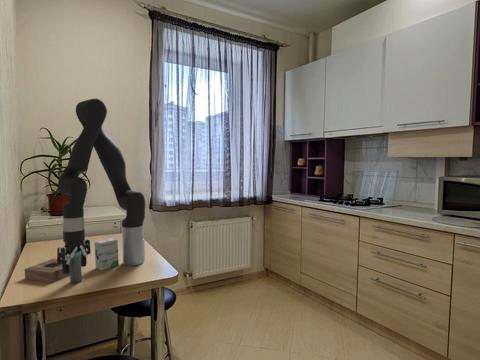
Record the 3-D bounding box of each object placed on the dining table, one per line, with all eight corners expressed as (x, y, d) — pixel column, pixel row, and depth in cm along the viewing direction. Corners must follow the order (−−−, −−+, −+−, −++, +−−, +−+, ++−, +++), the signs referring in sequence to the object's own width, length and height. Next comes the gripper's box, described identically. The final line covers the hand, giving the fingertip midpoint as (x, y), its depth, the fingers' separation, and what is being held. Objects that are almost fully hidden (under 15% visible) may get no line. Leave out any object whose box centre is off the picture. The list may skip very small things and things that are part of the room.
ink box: (113, 263, 146) (112, 237, 145) (119, 265, 143) (118, 239, 142) (94, 268, 139) (93, 241, 139) (100, 270, 136) (99, 243, 136)
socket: (54, 267, 140) (53, 258, 140) (80, 270, 137) (80, 261, 136) (25, 278, 127) (24, 269, 127) (53, 282, 123) (52, 272, 123)
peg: (75, 279, 127) (74, 249, 126) (84, 280, 125) (83, 250, 125) (67, 283, 123) (66, 252, 122) (76, 284, 121) (75, 253, 121)
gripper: (67, 233, 115) (68, 277, 116) (95, 225, 128) (96, 265, 129) (50, 232, 117) (52, 275, 118) (79, 224, 130) (81, 263, 131)
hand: (75, 269), depth 124 cm, fingers open, 8 cm apart
